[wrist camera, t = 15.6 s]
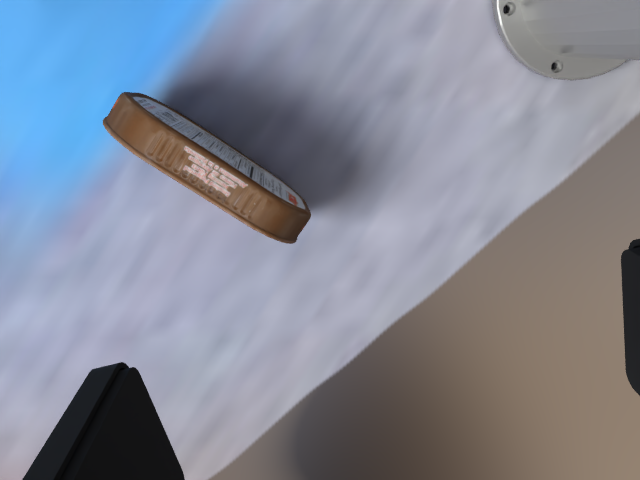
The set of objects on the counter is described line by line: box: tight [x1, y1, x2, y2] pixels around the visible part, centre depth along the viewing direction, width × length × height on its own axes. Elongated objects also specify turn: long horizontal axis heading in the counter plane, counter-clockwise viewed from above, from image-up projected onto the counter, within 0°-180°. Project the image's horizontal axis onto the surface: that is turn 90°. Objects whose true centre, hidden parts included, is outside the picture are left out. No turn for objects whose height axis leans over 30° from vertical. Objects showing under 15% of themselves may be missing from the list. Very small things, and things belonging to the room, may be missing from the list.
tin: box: [103, 92, 311, 244], centre depth 36 cm, size 15×3×8 cm, turn 55°
